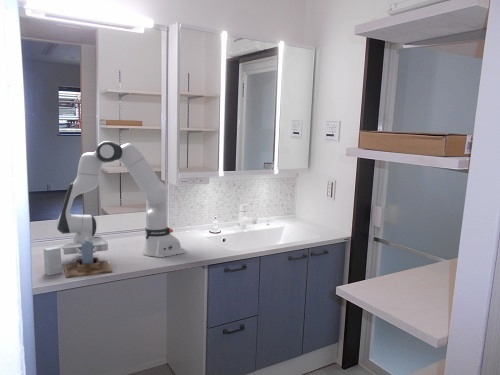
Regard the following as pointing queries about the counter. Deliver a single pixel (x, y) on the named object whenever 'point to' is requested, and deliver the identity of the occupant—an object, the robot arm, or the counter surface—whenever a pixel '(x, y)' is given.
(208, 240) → the counter surface
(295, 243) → the counter surface
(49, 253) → the skincare box
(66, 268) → the bottle caddy
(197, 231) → the counter surface
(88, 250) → the soap bottle
